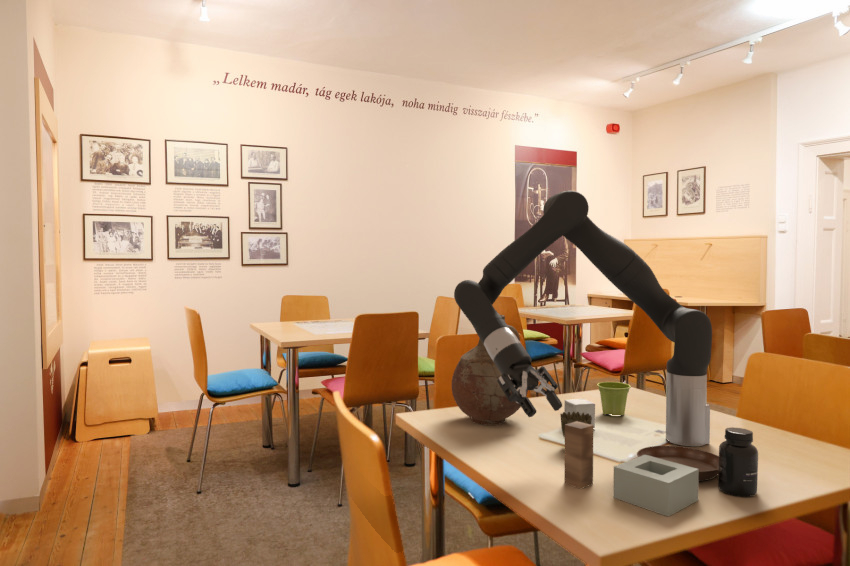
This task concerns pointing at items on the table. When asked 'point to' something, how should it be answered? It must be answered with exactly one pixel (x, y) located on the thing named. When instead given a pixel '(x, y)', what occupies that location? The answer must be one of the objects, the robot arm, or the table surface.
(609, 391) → the plant pot
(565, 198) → the robot arm
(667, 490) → the socket block
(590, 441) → the brown wooden bar
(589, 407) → the product box
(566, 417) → the cup
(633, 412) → the table surface
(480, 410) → the jug
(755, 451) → the supplement bottle
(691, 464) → the plant saucer
